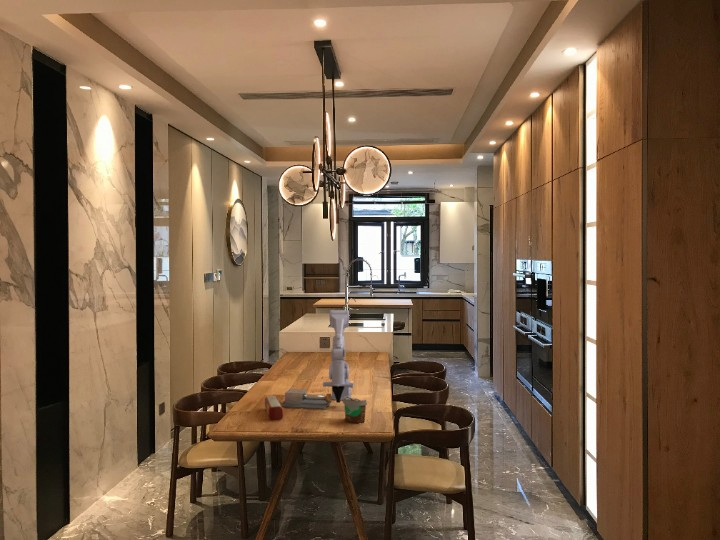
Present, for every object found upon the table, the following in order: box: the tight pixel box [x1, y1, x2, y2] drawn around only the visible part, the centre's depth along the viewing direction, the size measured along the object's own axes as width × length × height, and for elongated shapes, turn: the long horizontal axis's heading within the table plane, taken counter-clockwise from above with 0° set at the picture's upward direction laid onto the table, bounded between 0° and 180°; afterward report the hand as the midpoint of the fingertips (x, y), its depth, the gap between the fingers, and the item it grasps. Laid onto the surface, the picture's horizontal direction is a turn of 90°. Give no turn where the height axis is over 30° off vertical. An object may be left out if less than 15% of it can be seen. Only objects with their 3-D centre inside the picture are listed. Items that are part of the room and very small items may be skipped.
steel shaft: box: [303, 393, 332, 404], centre depth 265 cm, size 16×4×4 cm, turn 80°
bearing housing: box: [284, 388, 307, 405], centre depth 267 cm, size 8×8×6 cm
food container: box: [342, 395, 368, 425], centre depth 239 cm, size 12×6×10 cm, turn 45°
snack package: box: [264, 395, 284, 422], centre depth 250 cm, size 21×7×7 cm, turn 15°
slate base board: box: [280, 399, 333, 411], centre depth 266 cm, size 22×14×1 cm, turn 80°
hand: (338, 402), depth 263 cm, fingers closed
